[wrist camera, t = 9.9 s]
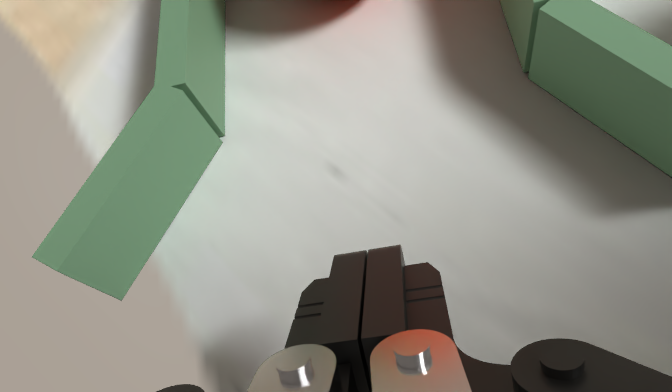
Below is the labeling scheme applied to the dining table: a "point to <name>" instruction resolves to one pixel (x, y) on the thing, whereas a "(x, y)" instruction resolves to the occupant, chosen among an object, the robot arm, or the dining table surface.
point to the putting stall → (209, 122)
